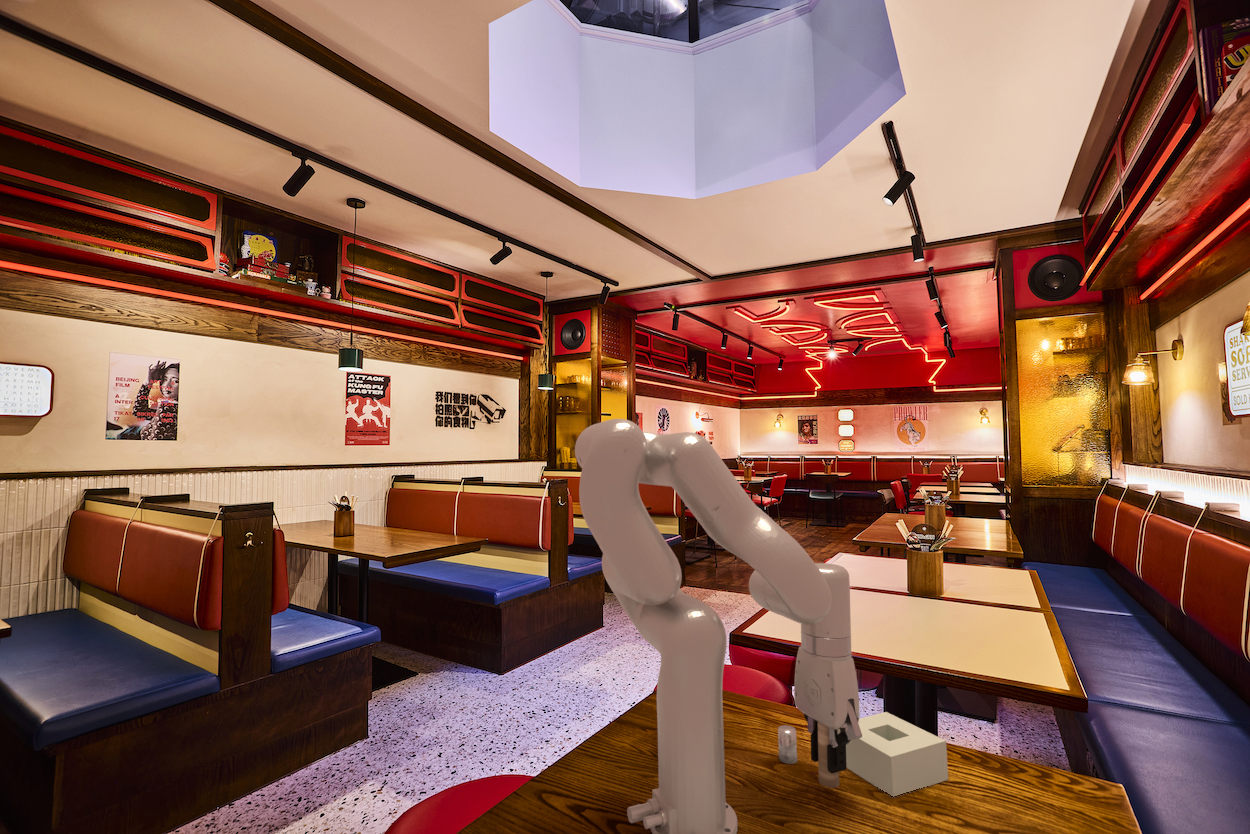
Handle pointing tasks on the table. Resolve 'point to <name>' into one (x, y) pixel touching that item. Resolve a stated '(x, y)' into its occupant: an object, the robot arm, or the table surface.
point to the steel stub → (787, 744)
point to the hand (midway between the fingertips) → (828, 764)
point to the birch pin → (825, 759)
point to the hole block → (896, 755)
